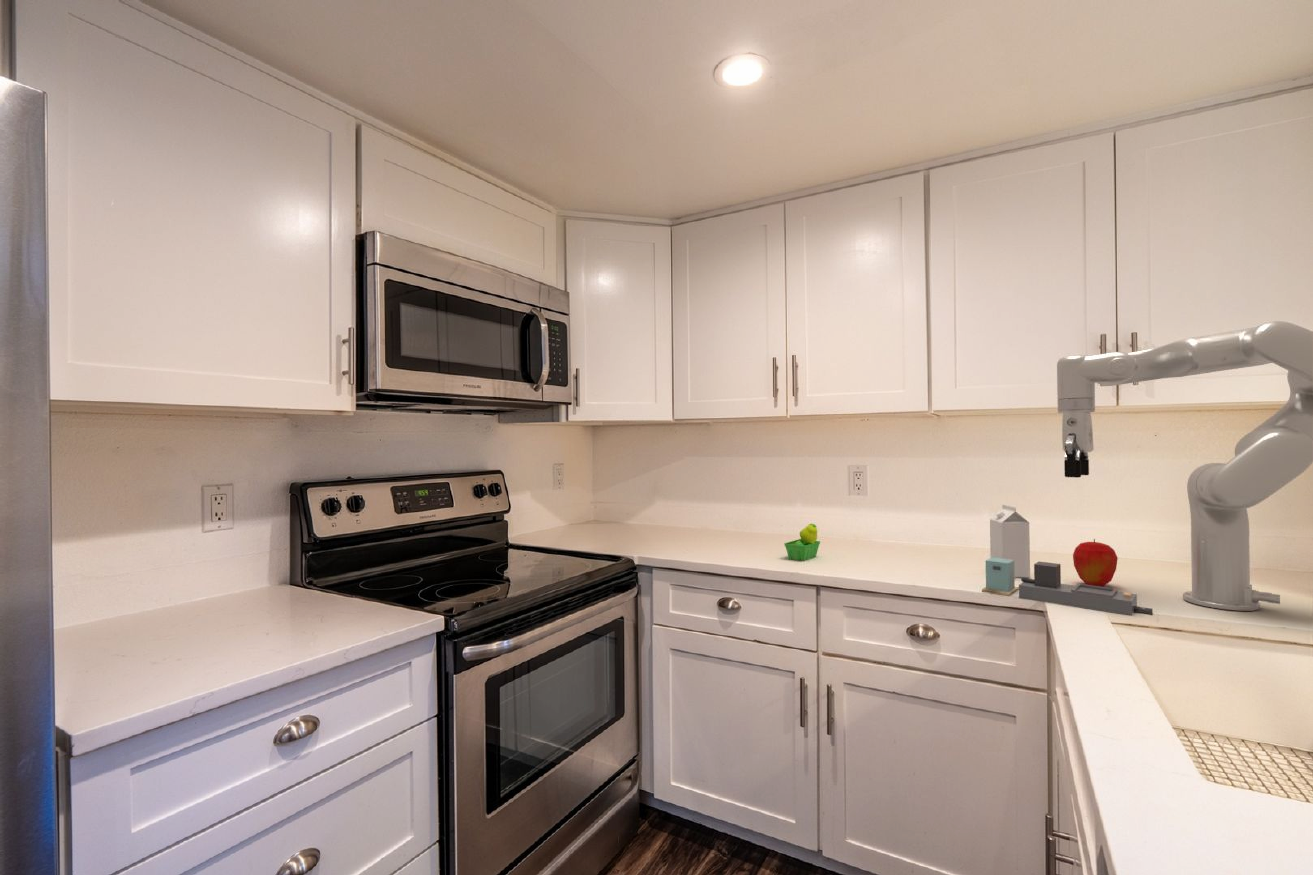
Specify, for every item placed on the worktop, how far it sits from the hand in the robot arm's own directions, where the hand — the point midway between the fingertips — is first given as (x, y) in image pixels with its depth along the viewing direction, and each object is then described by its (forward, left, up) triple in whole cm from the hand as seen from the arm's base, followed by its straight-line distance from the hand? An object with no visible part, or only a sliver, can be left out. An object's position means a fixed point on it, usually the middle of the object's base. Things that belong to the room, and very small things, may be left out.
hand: (1077, 476), depth 145 cm
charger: (+14, +12, -28) cm, 33 cm away
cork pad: (+14, +12, -28) cm, 34 cm away
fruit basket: (+71, +9, -29) cm, 77 cm away
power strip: (-3, +12, -28) cm, 31 cm away
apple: (-2, -9, -28) cm, 30 cm away
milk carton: (+17, -8, -28) cm, 34 cm away
